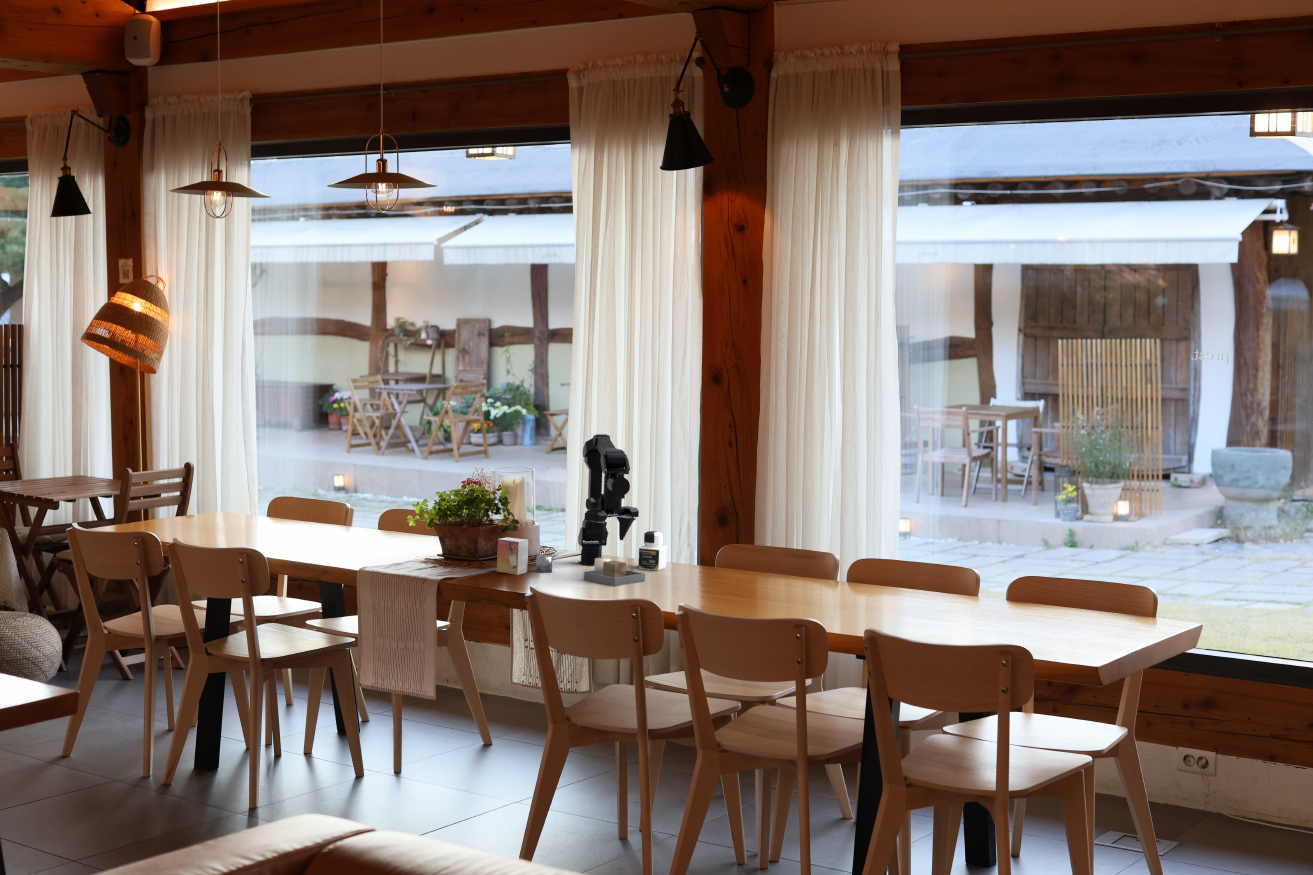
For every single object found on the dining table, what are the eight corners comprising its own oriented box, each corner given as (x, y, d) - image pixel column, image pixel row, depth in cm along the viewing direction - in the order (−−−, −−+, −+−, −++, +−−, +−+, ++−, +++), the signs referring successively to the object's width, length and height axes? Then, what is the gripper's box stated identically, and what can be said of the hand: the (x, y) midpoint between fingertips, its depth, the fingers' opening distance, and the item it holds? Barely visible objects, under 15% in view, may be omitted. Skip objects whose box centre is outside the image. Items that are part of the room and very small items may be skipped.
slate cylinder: (544, 569, 410) (545, 554, 409) (555, 571, 406) (555, 556, 406) (532, 571, 406) (533, 555, 405) (543, 573, 402) (544, 557, 402)
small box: (496, 572, 402) (497, 538, 401) (506, 569, 407) (507, 536, 406) (517, 575, 398) (518, 541, 398) (527, 572, 403) (528, 539, 402)
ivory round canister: (602, 572, 408) (602, 557, 407) (613, 575, 404) (614, 559, 404) (591, 574, 404) (591, 558, 404) (602, 576, 401) (602, 560, 400)
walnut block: (614, 576, 399) (614, 560, 398) (625, 578, 395) (626, 562, 395) (602, 578, 395) (603, 561, 395) (614, 580, 392) (615, 564, 391)
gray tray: (613, 574, 404) (614, 567, 404) (644, 581, 396) (644, 573, 395) (583, 579, 395) (584, 571, 394) (614, 586, 386) (615, 578, 386)
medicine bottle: (637, 568, 416) (639, 532, 415) (646, 565, 423) (647, 529, 422) (658, 571, 414) (659, 534, 413) (666, 567, 420) (667, 531, 419)
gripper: (614, 486, 407) (613, 535, 409) (572, 490, 393) (570, 541, 395) (640, 490, 400) (638, 540, 401) (598, 494, 386) (596, 546, 387)
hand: (610, 541), depth 396 cm, fingers open, 9 cm apart
